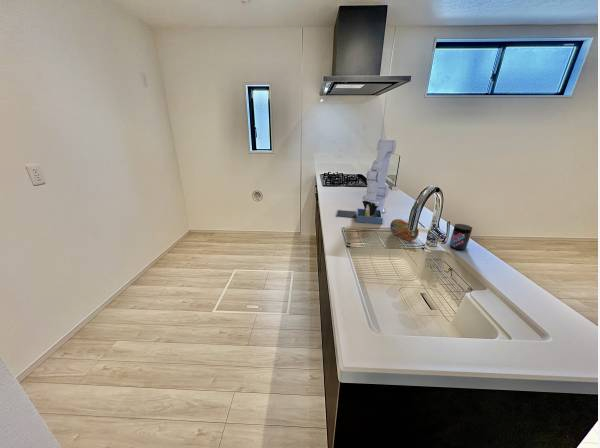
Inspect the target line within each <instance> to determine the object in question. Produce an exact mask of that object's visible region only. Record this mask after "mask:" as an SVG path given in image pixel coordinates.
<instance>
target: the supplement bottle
mask: <svg viewBox="0 0 600 448" xmlns="http://www.w3.org/2000/svg"><path fill="white" fill-rule="evenodd" d="M366 207H367V208H366V209H365V215H364V216H365V217H374V215H373V216H370V209H369V204H367V206H366Z"/></svg>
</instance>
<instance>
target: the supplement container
mask: <svg viewBox="0 0 600 448" xmlns="http://www.w3.org/2000/svg"><path fill="white" fill-rule="evenodd" d="M472 232H473V226H471V225H468V224H464V223H456V224H454V225H453V229H452V232H451V237H450V240H449V247H450V249H452V250H455V251H459V252H463V251H466V250H467V248H468V245H469V241H470V238H471V234H472Z"/></svg>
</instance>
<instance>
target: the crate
mask: <svg viewBox="0 0 600 448" xmlns="http://www.w3.org/2000/svg"><path fill="white" fill-rule="evenodd" d="M363 215H364V216H363ZM375 216H376V217H375ZM355 218H356V219H355V222H356V223H364V224H377V225H382V224H383V220H384V217H383V212H381V210H375V213H374V215H373V217H365V209H364V208H356V215H355Z"/></svg>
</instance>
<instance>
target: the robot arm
mask: <svg viewBox="0 0 600 448" xmlns="http://www.w3.org/2000/svg"><path fill="white" fill-rule="evenodd" d="M376 149H377V152H378V153H377V156H376V159H374V160H373V162H372V164H371V168H370V170H368V171H367V173H366V184H367V185H366V193H365V195H363V196H362V204H363V209H366V208H367V207H366V206H367V204H369V209H370V216H373V217H374V216H375V215H374V213H375V210H381V212H382V213H385V209H384V207H385V202H386V201H385V200H386V199H387V197H388V196H389V193H390V185H389V184H388V183H386V181H387V176H388V171H389V167H390V166H389V165H390V161H391V159H392V156H393V155H395V153H396V149H397V140H396V139H378V141H377V145H376Z"/></svg>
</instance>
